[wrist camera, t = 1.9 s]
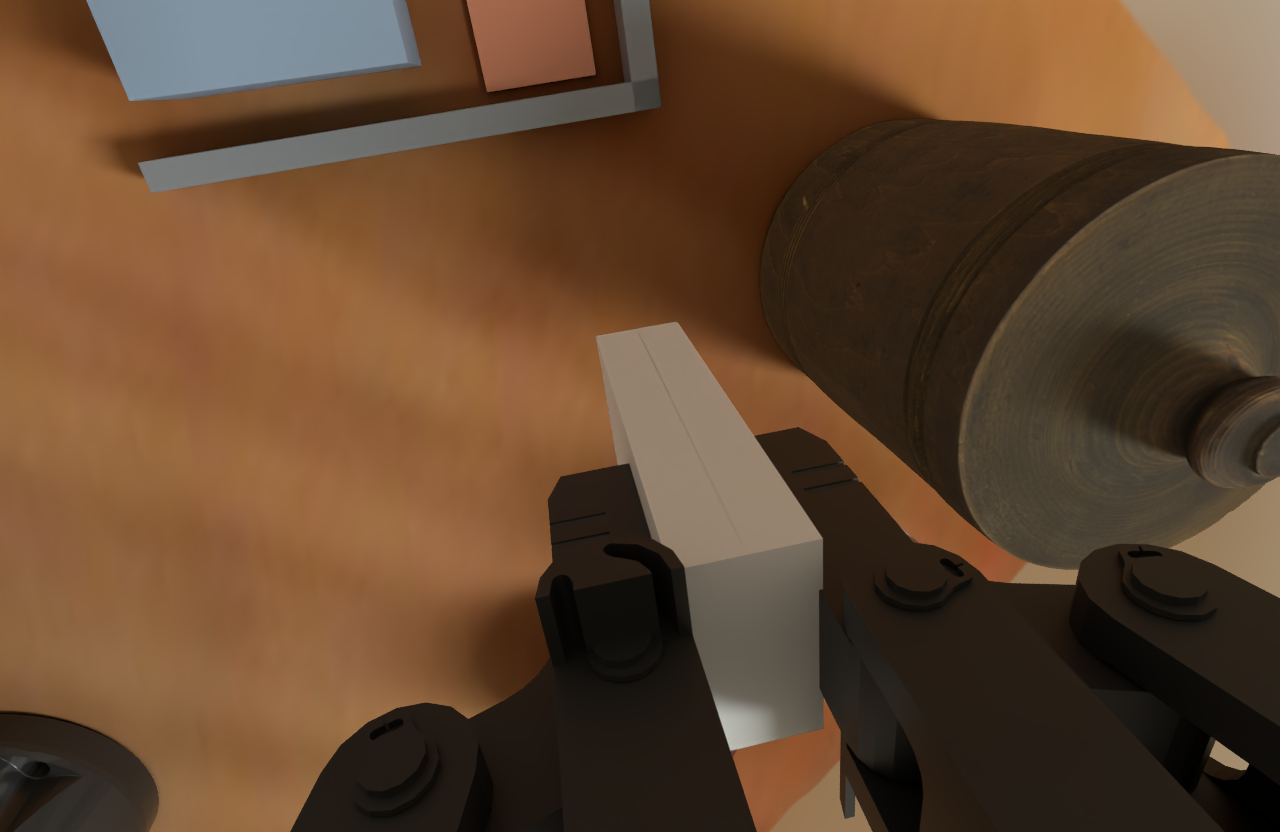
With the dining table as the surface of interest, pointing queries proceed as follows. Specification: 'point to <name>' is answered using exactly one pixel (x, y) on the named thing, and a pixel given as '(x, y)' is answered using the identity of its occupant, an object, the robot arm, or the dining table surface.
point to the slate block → (249, 43)
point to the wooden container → (1043, 322)
